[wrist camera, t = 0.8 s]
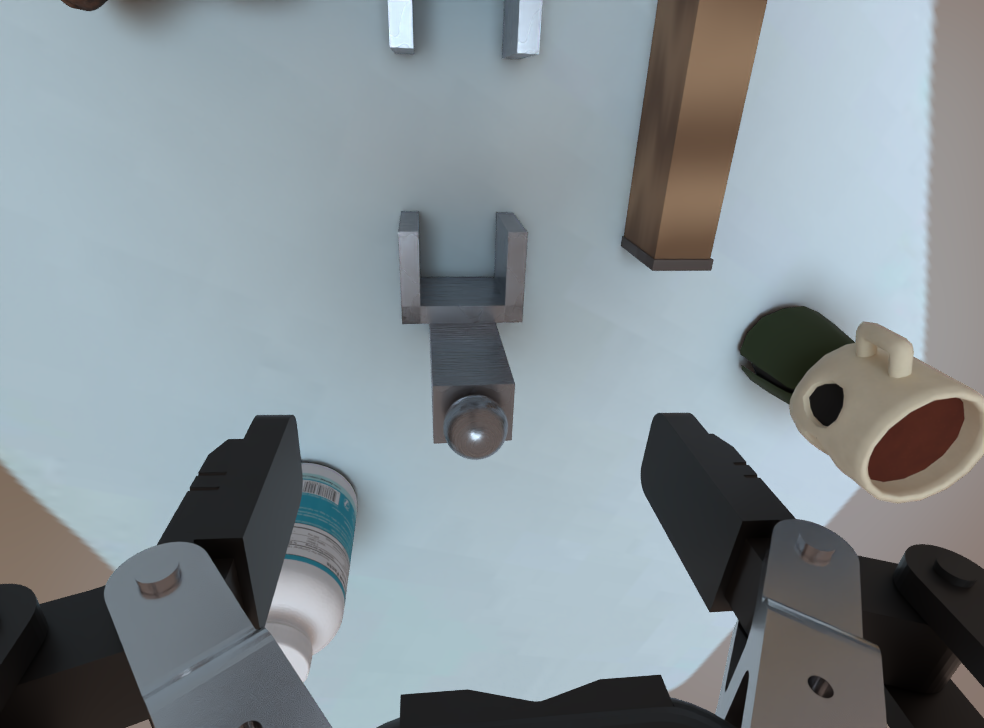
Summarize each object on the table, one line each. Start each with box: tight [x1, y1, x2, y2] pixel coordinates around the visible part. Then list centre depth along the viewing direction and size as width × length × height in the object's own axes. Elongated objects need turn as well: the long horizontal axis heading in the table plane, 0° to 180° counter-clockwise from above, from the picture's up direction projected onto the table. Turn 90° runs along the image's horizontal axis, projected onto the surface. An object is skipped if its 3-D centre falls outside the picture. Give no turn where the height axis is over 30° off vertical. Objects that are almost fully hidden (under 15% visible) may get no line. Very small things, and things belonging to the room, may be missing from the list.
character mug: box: [740, 306, 984, 503], centre depth 33 cm, size 11×7×13 cm, turn 16°
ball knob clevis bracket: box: [388, 0, 543, 460], centre depth 24 cm, size 24×7×14 cm, turn 178°
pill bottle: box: [265, 463, 357, 683], centre depth 34 cm, size 8×7×14 cm
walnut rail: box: [621, 0, 767, 271], centre depth 29 cm, size 14×3×5 cm, turn 178°
